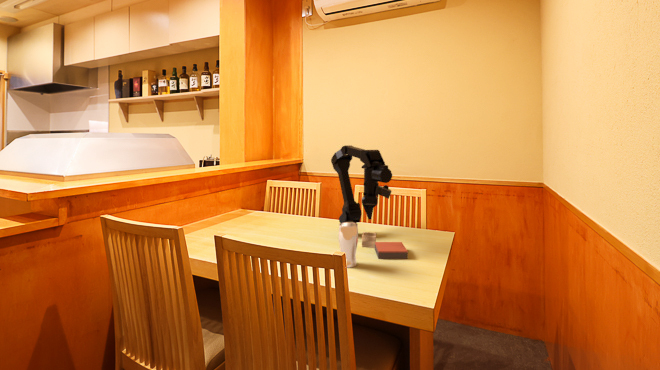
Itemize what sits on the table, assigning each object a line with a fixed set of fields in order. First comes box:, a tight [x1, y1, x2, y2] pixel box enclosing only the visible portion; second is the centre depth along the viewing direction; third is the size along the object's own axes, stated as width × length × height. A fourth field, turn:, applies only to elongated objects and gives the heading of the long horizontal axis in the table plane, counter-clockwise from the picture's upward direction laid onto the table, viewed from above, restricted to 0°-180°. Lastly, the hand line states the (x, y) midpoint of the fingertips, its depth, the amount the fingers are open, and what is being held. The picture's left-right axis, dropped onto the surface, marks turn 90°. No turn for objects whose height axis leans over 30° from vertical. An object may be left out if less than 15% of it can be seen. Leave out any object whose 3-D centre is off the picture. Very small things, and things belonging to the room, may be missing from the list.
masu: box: [361, 231, 377, 249], centre depth 141 cm, size 6×6×5 cm
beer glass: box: [338, 222, 359, 268], centre depth 118 cm, size 7×7×15 cm
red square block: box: [374, 241, 409, 260], centre depth 130 cm, size 11×11×4 cm
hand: (370, 216), depth 139 cm, fingers open, 9 cm apart
